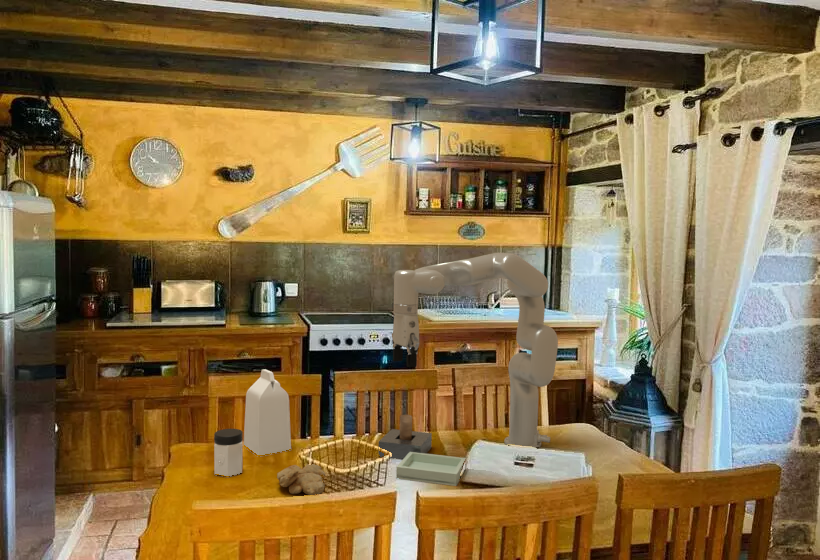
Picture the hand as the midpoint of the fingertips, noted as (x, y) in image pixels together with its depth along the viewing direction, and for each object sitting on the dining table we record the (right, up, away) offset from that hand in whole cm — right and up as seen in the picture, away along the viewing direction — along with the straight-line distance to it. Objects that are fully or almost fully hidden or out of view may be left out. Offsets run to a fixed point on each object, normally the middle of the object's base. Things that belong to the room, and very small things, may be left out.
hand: (404, 363), depth 206 cm
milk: (-46, -30, +12) cm, 56 cm away
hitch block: (0, -30, +10) cm, 32 cm away
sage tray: (+8, -32, -9) cm, 34 cm away
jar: (-52, -31, -10) cm, 62 cm away
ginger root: (-29, -33, -22) cm, 49 cm away
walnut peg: (0, -30, +10) cm, 32 cm away
